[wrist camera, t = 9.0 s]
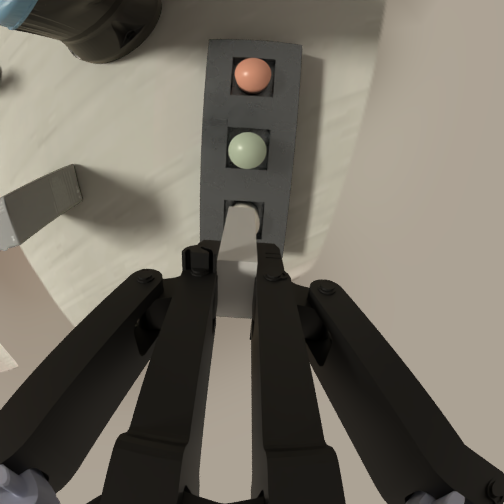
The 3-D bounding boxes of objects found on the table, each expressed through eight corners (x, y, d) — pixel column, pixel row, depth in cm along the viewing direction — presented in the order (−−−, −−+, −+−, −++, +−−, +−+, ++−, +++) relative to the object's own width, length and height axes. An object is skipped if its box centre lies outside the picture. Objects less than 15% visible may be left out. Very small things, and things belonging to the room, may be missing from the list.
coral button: (235, 93, 29) (233, 88, 26) (237, 64, 27) (236, 57, 24) (268, 95, 29) (270, 91, 26) (270, 66, 28) (272, 59, 24)
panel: (204, 242, 39) (200, 253, 36) (212, 47, 28) (209, 39, 24) (279, 247, 40) (282, 258, 37) (297, 52, 28) (302, 45, 25)
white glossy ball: (227, 228, 37) (225, 239, 34) (229, 200, 35) (226, 207, 32) (257, 230, 37) (258, 241, 34) (259, 202, 35) (260, 209, 32)
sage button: (229, 163, 31) (227, 167, 28) (231, 131, 30) (229, 131, 26) (263, 165, 32) (264, 170, 28) (265, 133, 30) (267, 133, 27)
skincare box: (75, 162, 34) (3, 188, 19) (85, 205, 37) (21, 247, 22) (41, 177, 34) (-25, 206, 20) (51, 215, 37) (-10, 256, 23)
